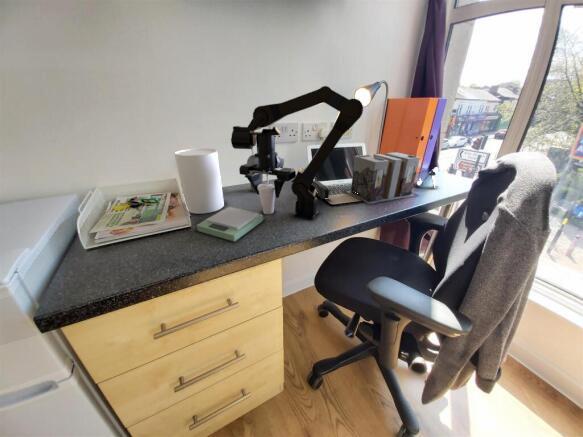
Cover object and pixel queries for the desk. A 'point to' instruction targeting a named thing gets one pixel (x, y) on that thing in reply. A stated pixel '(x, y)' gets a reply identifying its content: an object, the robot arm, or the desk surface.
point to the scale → (230, 223)
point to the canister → (200, 179)
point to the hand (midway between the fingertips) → (267, 196)
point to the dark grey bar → (321, 190)
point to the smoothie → (267, 196)
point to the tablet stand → (427, 176)
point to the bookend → (383, 176)
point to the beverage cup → (254, 160)
